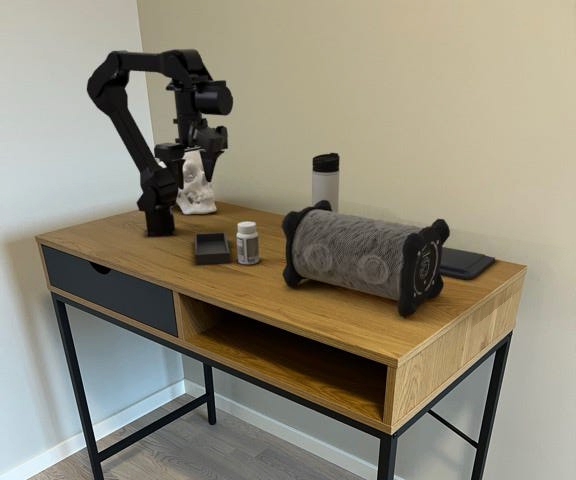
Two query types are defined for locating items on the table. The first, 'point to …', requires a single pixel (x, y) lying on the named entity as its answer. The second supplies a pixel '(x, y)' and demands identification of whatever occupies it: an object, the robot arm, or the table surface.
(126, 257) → the table surface
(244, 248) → the pill bottle
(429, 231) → the speaker
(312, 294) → the table surface
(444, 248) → the wallet
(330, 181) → the travel mug
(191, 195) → the white skull model
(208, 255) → the pen tray
